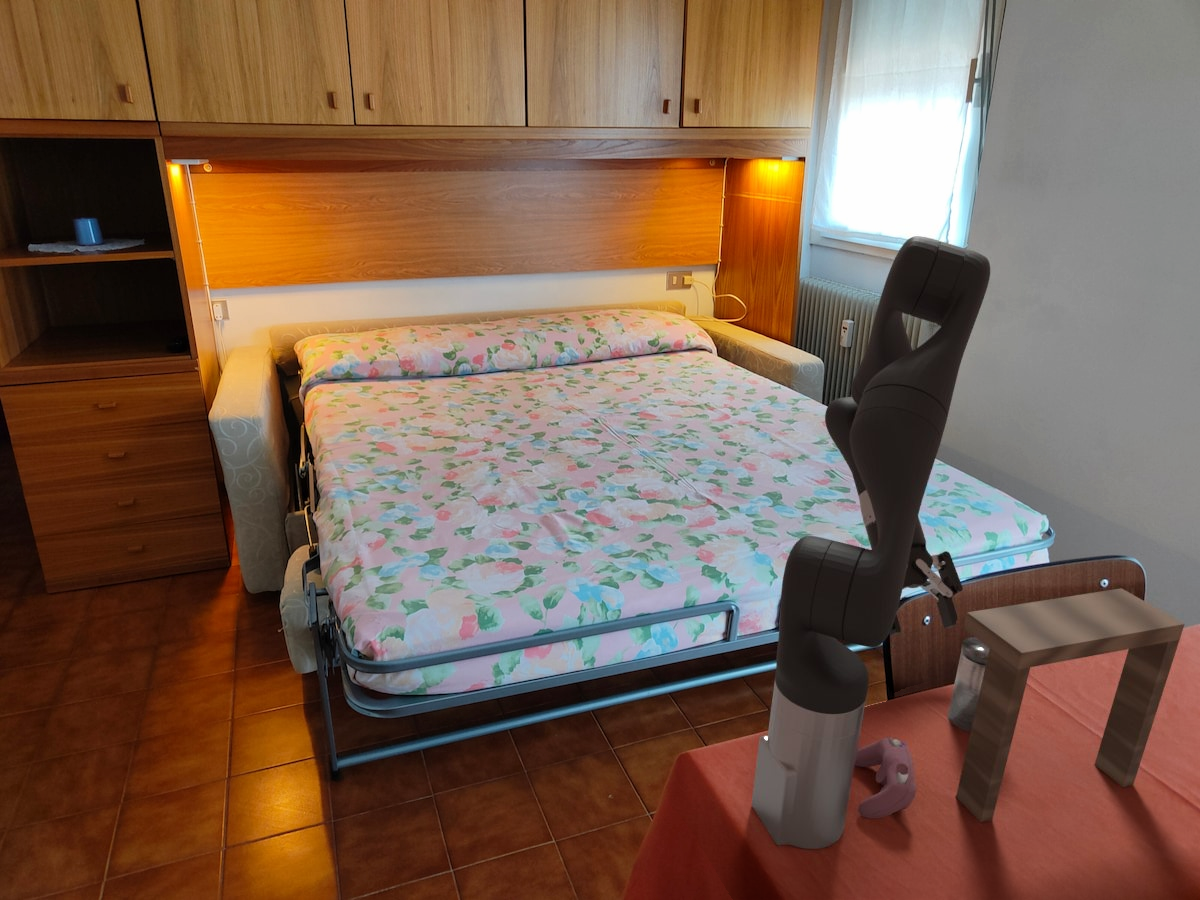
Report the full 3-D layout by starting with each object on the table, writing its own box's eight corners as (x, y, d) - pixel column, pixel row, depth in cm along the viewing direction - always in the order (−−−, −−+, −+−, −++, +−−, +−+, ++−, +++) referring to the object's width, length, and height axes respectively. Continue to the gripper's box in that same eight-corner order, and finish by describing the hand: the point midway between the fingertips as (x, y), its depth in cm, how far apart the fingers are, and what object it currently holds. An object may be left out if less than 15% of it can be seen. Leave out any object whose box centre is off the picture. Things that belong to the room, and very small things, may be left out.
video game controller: (890, 836, 91) (930, 796, 88) (854, 816, 91) (893, 775, 88) (879, 774, 100) (914, 736, 97) (846, 755, 100) (881, 716, 97)
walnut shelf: (980, 822, 91) (1021, 652, 83) (933, 772, 98) (967, 612, 90) (1133, 784, 97) (1184, 623, 90) (1078, 740, 104) (1121, 588, 97)
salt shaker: (965, 735, 105) (981, 662, 101) (939, 711, 109) (954, 640, 105) (996, 728, 106) (1013, 656, 102) (969, 705, 110) (985, 635, 107)
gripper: (857, 516, 115) (889, 631, 109) (948, 506, 118) (984, 618, 112) (835, 532, 122) (864, 641, 116) (921, 522, 125) (954, 629, 119)
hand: (923, 630), depth 114 cm, fingers open, 8 cm apart
